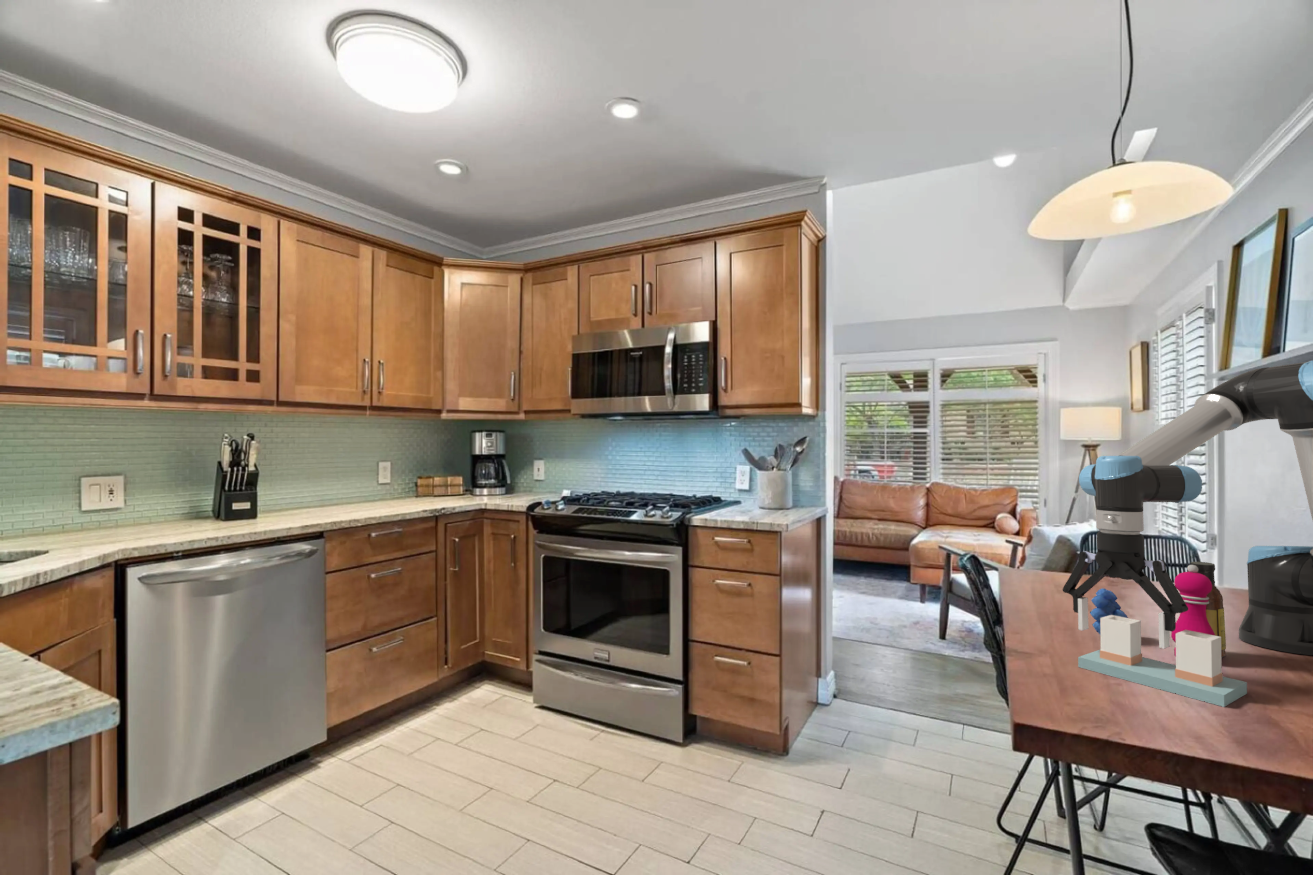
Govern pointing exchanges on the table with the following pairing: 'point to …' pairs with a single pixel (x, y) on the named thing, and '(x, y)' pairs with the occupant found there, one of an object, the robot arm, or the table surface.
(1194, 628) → the pepper mill
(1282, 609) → the robot arm
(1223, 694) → the pin board
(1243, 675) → the table surface
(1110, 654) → the sleeve
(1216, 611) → the sauce bottle
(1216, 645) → the seated sleeve
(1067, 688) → the table surface
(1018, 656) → the table surface
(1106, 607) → the grapes
